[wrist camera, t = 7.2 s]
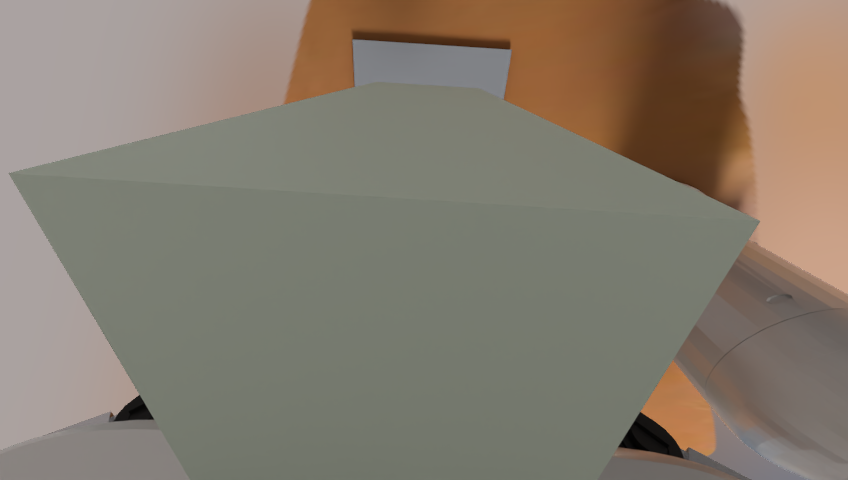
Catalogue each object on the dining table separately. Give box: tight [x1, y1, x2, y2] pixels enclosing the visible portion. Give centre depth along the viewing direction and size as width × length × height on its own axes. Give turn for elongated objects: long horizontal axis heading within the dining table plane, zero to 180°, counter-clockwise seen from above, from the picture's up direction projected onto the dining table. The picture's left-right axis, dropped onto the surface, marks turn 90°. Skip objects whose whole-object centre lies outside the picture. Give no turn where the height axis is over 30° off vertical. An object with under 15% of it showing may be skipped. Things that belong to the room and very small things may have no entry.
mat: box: [353, 39, 512, 100], centre depth 28 cm, size 12×16×1 cm
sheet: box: [9, 82, 760, 480], centre depth 10 cm, size 4×12×12 cm, turn 177°
